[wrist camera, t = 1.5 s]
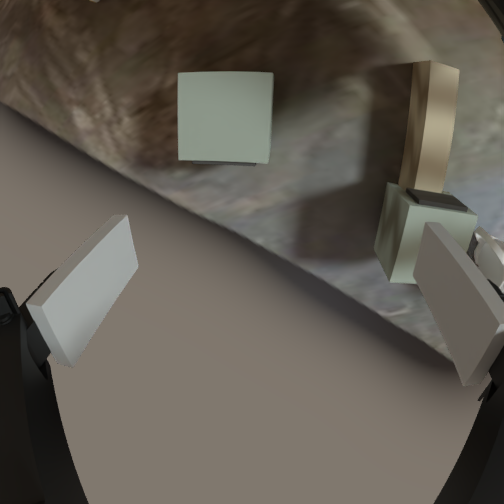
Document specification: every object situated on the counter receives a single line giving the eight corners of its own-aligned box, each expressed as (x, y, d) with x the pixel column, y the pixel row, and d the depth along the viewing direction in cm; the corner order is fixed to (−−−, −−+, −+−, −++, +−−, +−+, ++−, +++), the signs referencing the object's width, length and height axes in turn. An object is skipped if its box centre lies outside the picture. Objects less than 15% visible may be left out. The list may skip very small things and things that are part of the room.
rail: (394, 57, 23) (430, 50, 16) (455, 75, 23) (501, 78, 16) (368, 239, 32) (389, 282, 25) (425, 245, 32) (454, 285, 25)
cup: (477, 283, 34) (505, 323, 27) (444, 237, 31) (477, 276, 24) (512, 248, 31) (545, 282, 24) (484, 196, 28) (524, 227, 21)
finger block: (197, 75, 26) (178, 72, 20) (274, 76, 25) (272, 72, 20) (197, 150, 29) (178, 165, 24) (270, 153, 29) (267, 168, 24)
